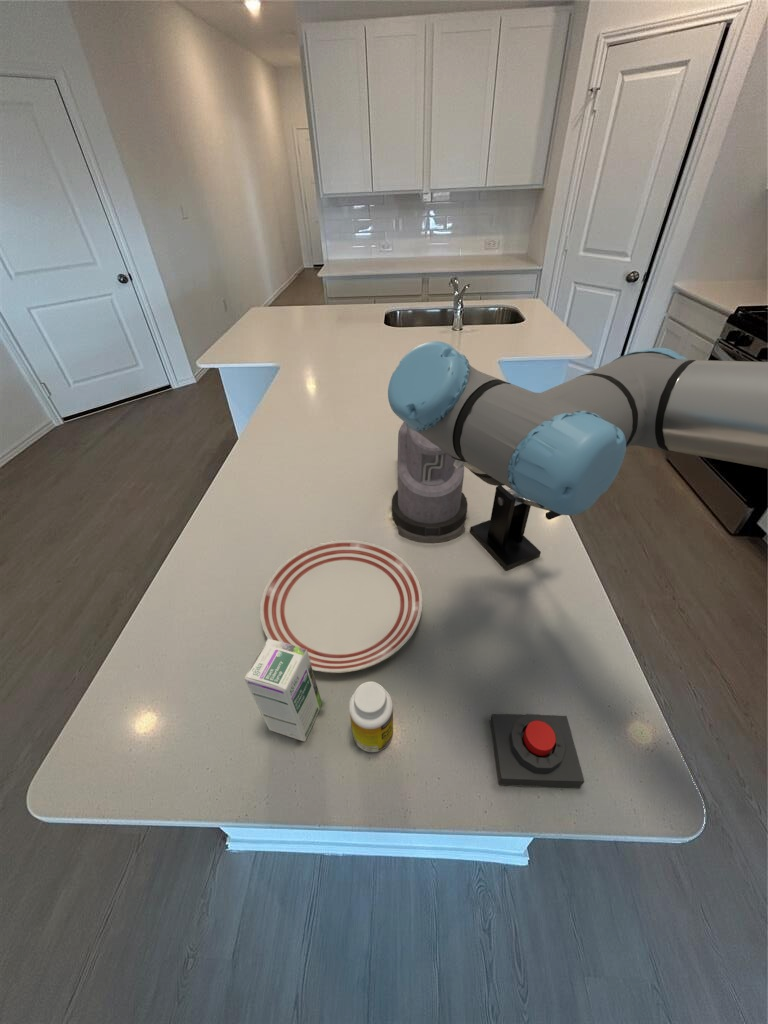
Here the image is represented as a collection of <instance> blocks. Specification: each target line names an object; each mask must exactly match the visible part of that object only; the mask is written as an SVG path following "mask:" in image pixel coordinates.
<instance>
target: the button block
mask: <svg viewBox="0 0 768 1024" xmlns="http://www.w3.org/2000/svg"><path fill="white" fill-rule="evenodd" d="M532 721H542V722H545V723H546V724H548V725H549V726H550V727H551V728H552V729H553V731H554V733H555V736H556V742H555V745H554V747H553V749H552V750H551V752H550V753H549V754H547V755H545V756H539V755H535V754H533V753H532V752H531V751H529V750H528V748H527V747H526V745H525V743H524V739H523V736H524V732H525V730H526V727H527V725H528V724H529V723H530V722H532ZM489 723H490V724H489V725H490V731H491V737H492V746H493V753H494V760H495V767H496V775H497V782H498V785H499V786H516V787H517V786H518V787H519V786H520V787H545V788H546V787H547V788H570V789H571V788H573V789H574V788H575V789H580V788H581V787H582V785H583V784H584V783H585V778H584V774H583V771H582V767H581V764H580V760H579V757H578V753H577V749H576V745H575V741H574V737H573V735H572V730H571V728H570V723H569V720H568V716H567V715H559V714H558V715H557V714H556V715H553V714H539V713H536V714H535V713H526V714H525V713H524V714H523V713H522V714H521V713H520V714H519V713H491V716H490V719H489Z"/></svg>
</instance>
